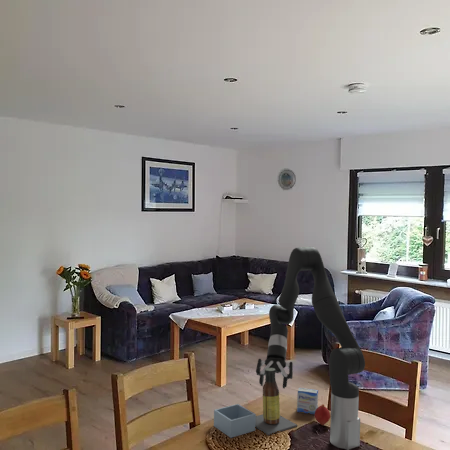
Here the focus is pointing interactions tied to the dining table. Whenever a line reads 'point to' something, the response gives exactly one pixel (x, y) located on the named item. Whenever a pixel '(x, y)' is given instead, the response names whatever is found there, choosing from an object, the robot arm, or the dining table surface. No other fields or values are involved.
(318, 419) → the onion
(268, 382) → the sauce bottle
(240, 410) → the tub
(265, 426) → the mat
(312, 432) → the dining table surface
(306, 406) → the medicine box
